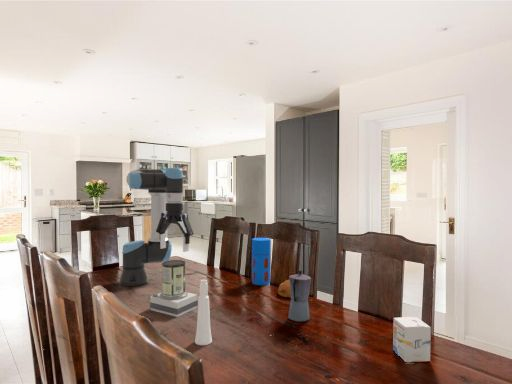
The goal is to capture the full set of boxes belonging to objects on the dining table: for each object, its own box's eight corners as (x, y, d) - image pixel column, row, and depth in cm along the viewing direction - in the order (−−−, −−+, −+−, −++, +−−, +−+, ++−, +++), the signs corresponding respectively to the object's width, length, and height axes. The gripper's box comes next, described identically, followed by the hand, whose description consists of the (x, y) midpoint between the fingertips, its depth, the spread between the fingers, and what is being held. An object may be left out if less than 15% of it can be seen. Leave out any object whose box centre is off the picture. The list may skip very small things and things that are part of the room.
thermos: (271, 280, 203) (271, 237, 202) (270, 285, 192) (270, 240, 191) (252, 279, 204) (252, 237, 203) (250, 284, 193) (250, 240, 192)
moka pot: (313, 313, 150) (313, 268, 149) (306, 327, 135) (307, 276, 135) (292, 311, 153) (292, 266, 152) (283, 324, 138) (283, 274, 138)
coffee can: (171, 288, 162) (171, 259, 161) (190, 291, 157) (190, 261, 157) (156, 295, 152) (156, 263, 152) (175, 298, 148) (175, 266, 148)
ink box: (392, 351, 116) (392, 316, 116) (416, 350, 117) (416, 315, 117) (405, 364, 108) (405, 327, 108) (431, 363, 108) (431, 326, 108)
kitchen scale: (150, 309, 153) (150, 294, 153) (171, 301, 165) (171, 287, 165) (177, 317, 145) (177, 300, 145) (197, 307, 157) (197, 292, 156)
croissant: (289, 292, 187) (288, 277, 188) (312, 294, 176) (311, 279, 177) (271, 297, 177) (270, 281, 178) (294, 300, 166) (293, 283, 167)
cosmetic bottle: (202, 336, 127) (202, 277, 126) (215, 340, 124) (215, 279, 123) (191, 343, 121) (191, 280, 121) (204, 347, 118) (205, 283, 118)
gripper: (148, 201, 157) (148, 248, 158) (190, 203, 145) (190, 254, 145) (160, 201, 164) (160, 245, 164) (201, 203, 151) (201, 251, 152)
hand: (174, 249), depth 155 cm, fingers open, 13 cm apart
